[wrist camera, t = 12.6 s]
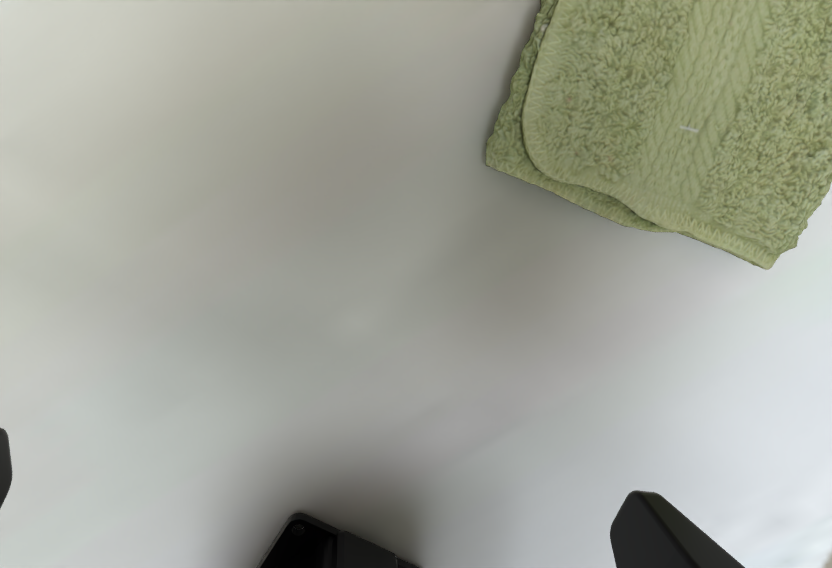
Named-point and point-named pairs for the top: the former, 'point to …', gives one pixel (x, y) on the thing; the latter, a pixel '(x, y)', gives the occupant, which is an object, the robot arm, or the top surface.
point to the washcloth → (678, 116)
